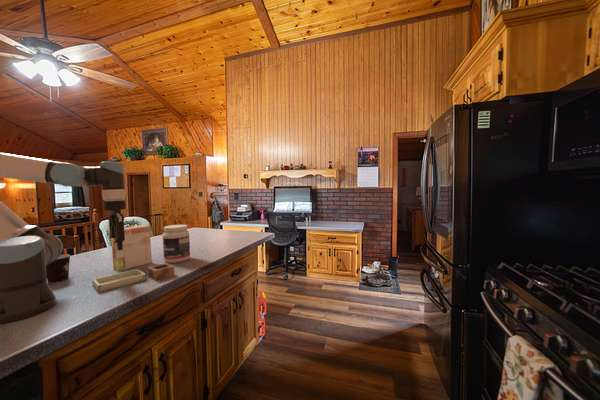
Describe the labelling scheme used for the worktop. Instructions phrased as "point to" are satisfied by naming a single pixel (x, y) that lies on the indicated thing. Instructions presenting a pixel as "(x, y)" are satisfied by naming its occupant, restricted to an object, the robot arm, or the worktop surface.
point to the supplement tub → (176, 243)
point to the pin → (119, 262)
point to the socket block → (160, 271)
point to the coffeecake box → (137, 246)
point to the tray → (118, 280)
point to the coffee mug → (58, 269)
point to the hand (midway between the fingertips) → (118, 256)
